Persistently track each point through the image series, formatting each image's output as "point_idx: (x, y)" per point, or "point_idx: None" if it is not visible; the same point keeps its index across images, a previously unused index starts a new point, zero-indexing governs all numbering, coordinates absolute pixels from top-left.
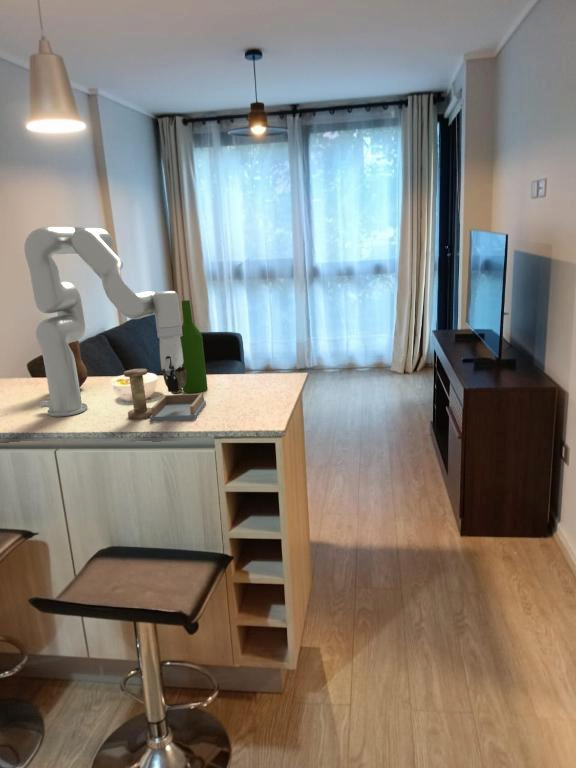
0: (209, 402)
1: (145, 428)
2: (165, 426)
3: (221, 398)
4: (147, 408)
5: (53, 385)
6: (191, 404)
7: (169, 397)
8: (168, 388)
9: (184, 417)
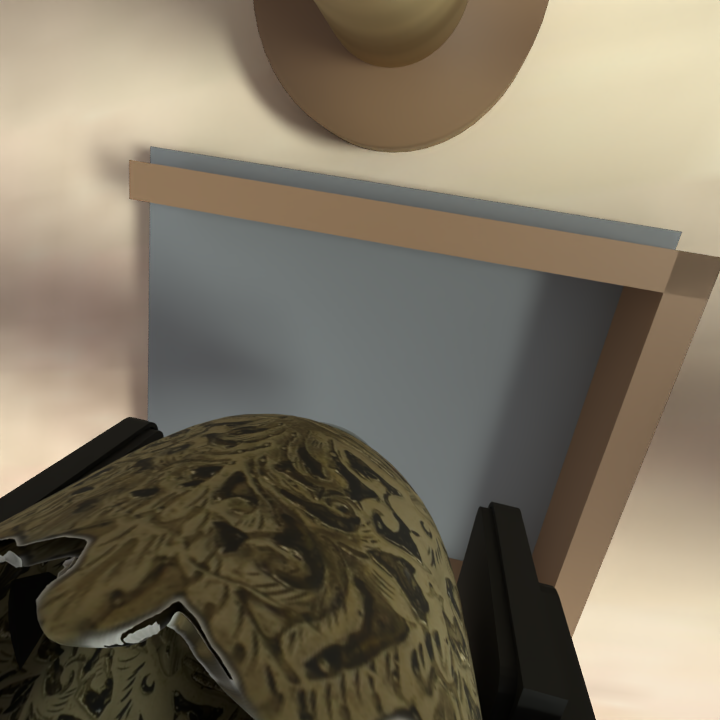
0: (610, 613)
1: (17, 139)
2: (52, 297)
3: (695, 702)
4: (489, 52)
5: None
6: (460, 504)
7: (643, 322)
8: (103, 443)
9: None
